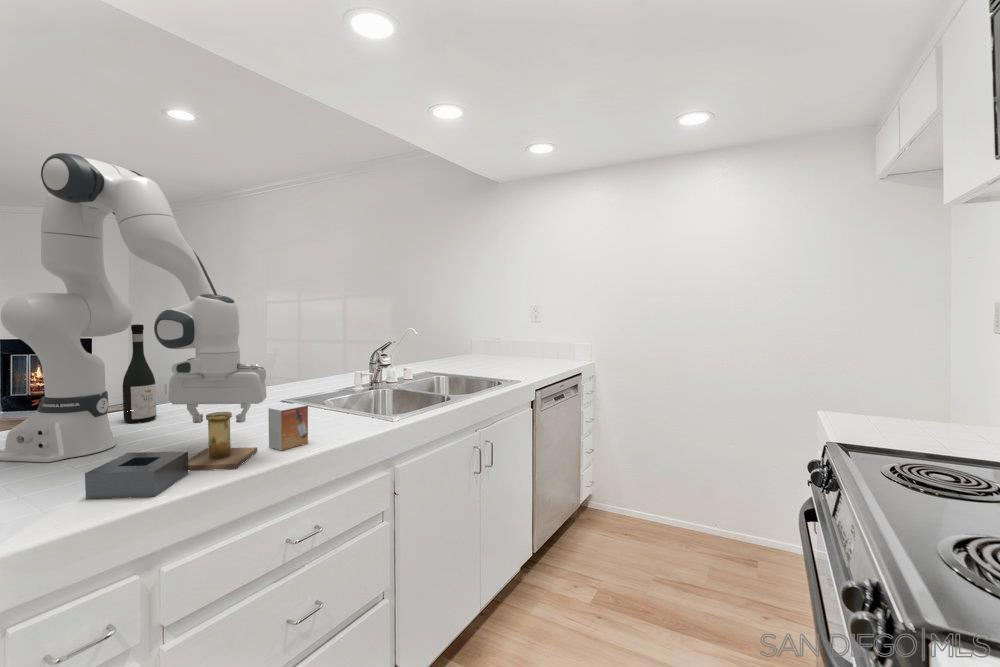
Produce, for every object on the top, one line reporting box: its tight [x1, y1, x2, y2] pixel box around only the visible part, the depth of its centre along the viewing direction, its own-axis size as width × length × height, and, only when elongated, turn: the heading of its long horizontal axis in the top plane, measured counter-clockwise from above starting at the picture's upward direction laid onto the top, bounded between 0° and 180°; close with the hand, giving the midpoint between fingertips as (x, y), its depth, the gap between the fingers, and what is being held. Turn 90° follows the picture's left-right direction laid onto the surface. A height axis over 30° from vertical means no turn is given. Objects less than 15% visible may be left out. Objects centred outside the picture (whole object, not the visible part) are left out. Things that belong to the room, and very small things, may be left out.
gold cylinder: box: [205, 411, 233, 459], centre depth 108 cm, size 5×5×10 cm
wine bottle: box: [122, 323, 157, 424], centre depth 142 cm, size 8×8×30 cm
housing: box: [84, 450, 190, 500], centre depth 93 cm, size 12×12×5 cm
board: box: [188, 446, 258, 471], centre depth 108 cm, size 12×12×1 cm
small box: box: [268, 402, 309, 451], centre depth 121 cm, size 8×6×10 cm
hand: (219, 422), depth 108 cm, fingers open, 8 cm apart
